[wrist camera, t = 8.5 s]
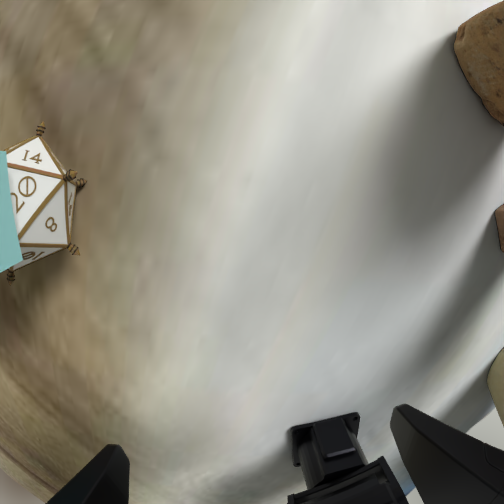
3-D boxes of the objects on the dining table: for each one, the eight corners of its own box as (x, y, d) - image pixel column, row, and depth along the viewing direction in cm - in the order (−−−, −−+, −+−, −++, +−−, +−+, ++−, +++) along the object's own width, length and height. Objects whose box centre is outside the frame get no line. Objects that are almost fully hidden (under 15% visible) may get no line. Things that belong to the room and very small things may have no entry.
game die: (71, 168, 21) (37, 69, 12) (126, 242, 20) (96, 144, 11) (-13, 235, 17) (-80, 161, 8) (31, 323, 16) (-61, 277, 7)
